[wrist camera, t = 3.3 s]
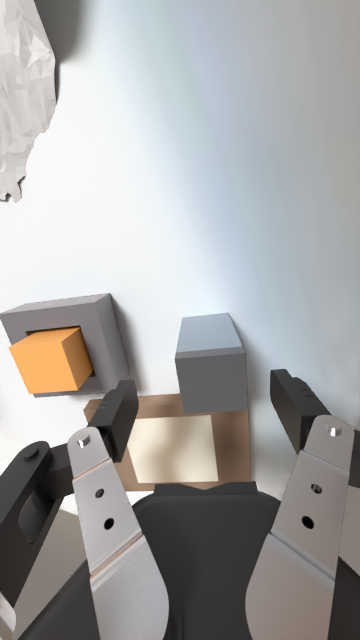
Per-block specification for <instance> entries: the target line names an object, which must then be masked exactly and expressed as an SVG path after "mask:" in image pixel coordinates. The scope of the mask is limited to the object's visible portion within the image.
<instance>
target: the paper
mask: <svg viewBox="0 0 360 640" xmlns="http://www.w3.org/2000/svg"><path fill="white" fill-rule="evenodd" d="M54 68H55V56H54V53H53V50H52V48H51V45H50V43H49V40H48V38H47V35H46V32H45V29H44V27H43V24H42V21H41V19H40V16H39V14H38V11H37V8H36V6H35V3H34V0H0V199H1V200H5V198H6V197H5V195H6V194H7V193H9V194H10V195H11V196H12V197H13V199H14V201H15V202H18V201H19V200H20V199H21V198H22V196H21V194H20V191H21V190H20V188H19V185H18V183H17V182H19V180H20V179H22V177H23V176H26V162H27V158H28V156H29V154H30V151H31V149H32V148H33V146H34V139H35V138H36V137H37V136H38V135H39V134H40V133H45V131H46V130H47V129H48V128H49V124H50V121H51V118H52V116H53V114H54V111H55V106H56V104H57V103H56V97H55V86H54Z"/></svg>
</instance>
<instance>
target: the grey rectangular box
mask: <svg viewBox="0 0 360 640" xmlns="http://www.w3.org/2000/svg"><path fill="white" fill-rule="evenodd" d="M175 364H176V370H177V376H178V381H179V387H180V393H181V399H182V405H183V411H184V414H192V413H209V412H227V411H244V410H248V396H247V374H246V353H245V351H244V348H243V346H242V344H241V341H240V339H239V337H238V334H237V332H236V330H235V327H234V325H233V323H232V320H231V318H230V316H229V313H222V314H213V315H204V316H195V317H186V318H182V323H181V328H180V334H179V339H178V344H177V350H176V355H175Z"/></svg>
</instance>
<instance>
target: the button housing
mask: <svg viewBox="0 0 360 640" xmlns="http://www.w3.org/2000/svg"><path fill="white" fill-rule="evenodd" d="M0 319H1V321H2V324H3V326H4V328H5V331H6V333H7V335H8V337H9V340H10V342H11V344H12V345H14V344H16V343H17V342H19V341H21V340H23V339H24V338H26V337H28V336H30V335H31V334H33V333H35V332H37V331H39V330H42V329H50V328H59V327H68V326H77V325H80V326H81V329H82V333H83V336H84V339H85V342H86V346H87V349H88V352H89V355H90V358H91V362H92V365H93V368H94V371H93V372H92V373H91V374H90V376H89V377H88V378H87V379H86V381H85V382H84V383H83V384H82V386H81V387H80V388H79V389H78V390H74V391H61V392H47V393H34V394H33V395H34V397H35V398H36V397H50V396H64V395H78V394H91V393H105V392H109V391H111V390H112V389H116V387H117V385H118V383H119V381H120V380H126V378H127V376H128V374H129V368H128V364H127V360H126V356H125V352H124V348H123V344H122V340H121V336H120V332H119V328H118V324H117V320H116V316H115V313H114V309H113V305H112V301H111V297H110V293H107V294H99V295H91V296H84V297H76V298H68V299H60V300H52V301H44V302H36V303H29V304H24V305H22V306H19V307H16V308H14V309H11V310H8V311H5V312H3V313H0Z"/></svg>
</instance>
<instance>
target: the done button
mask: <svg viewBox="0 0 360 640" xmlns="http://www.w3.org/2000/svg"><path fill="white" fill-rule="evenodd" d="M9 349H10V351H11V354H12V356H13V358H14V360H15V363H16V365H17V367H18V369H19V372H20V374H21V376H22V378H23V381H24V383H25V385H26V387H27V390H28V392H29V394H34V393H47V392H61V391H74V390H78V389H79V388H80V387H81V386H82V384H83V383H84V382H85V381H86V379H87V378H88V377H89V376H90V374H91V373H92V372H93V371H94V368H93V365H92V362H91V358H90V355H89V352H88V349H87V346H86V342H85V339H84V336H83V333H82V329H81V326H80V325H77V326H68V327H59V328H50V329H42V330H39V331H37V332H35V333H33V334H31V335H30V336H28V337H26V338H24V339H23V340H21V341H19V342H17V343H16V344H14V345H12V346H10V347H9Z"/></svg>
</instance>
